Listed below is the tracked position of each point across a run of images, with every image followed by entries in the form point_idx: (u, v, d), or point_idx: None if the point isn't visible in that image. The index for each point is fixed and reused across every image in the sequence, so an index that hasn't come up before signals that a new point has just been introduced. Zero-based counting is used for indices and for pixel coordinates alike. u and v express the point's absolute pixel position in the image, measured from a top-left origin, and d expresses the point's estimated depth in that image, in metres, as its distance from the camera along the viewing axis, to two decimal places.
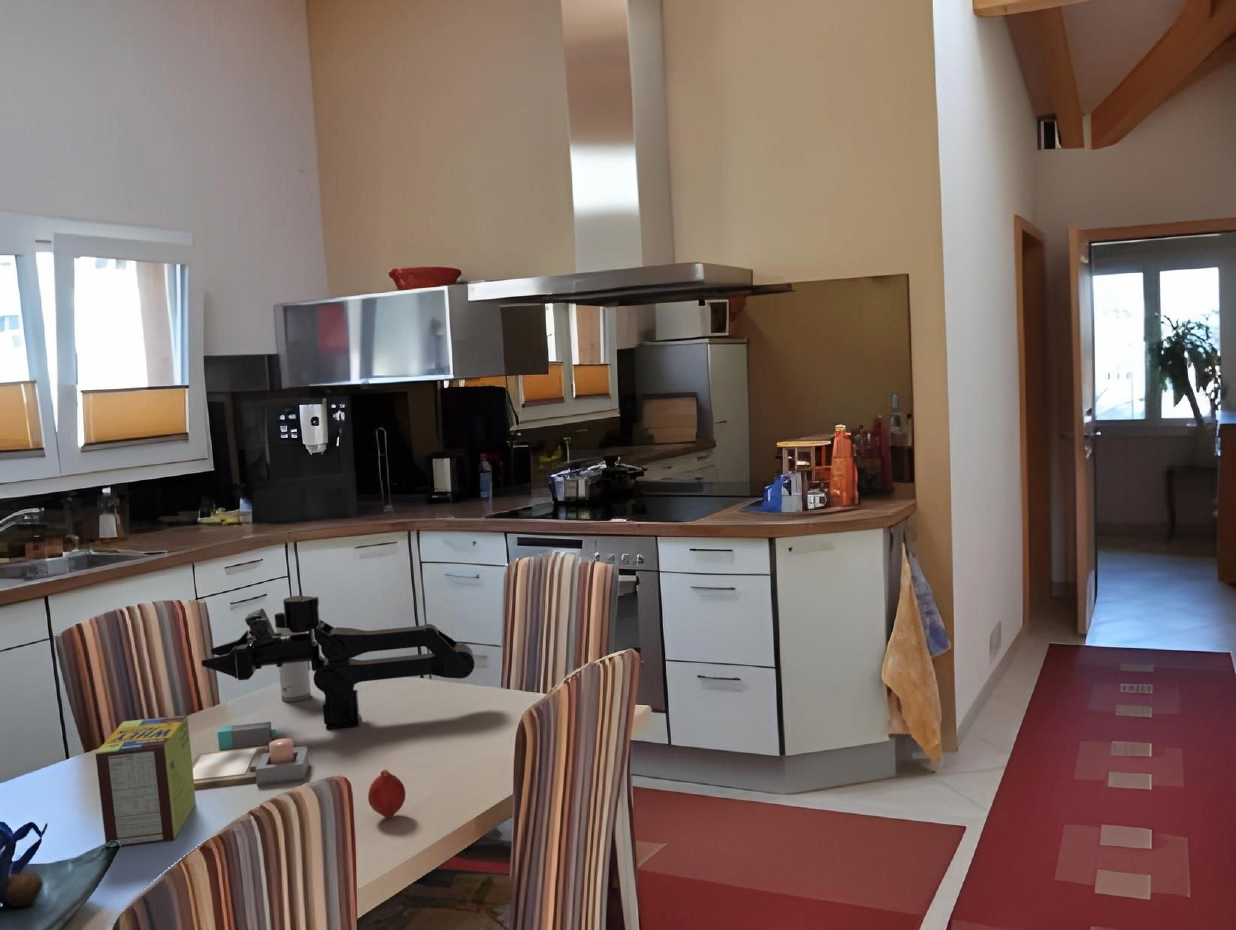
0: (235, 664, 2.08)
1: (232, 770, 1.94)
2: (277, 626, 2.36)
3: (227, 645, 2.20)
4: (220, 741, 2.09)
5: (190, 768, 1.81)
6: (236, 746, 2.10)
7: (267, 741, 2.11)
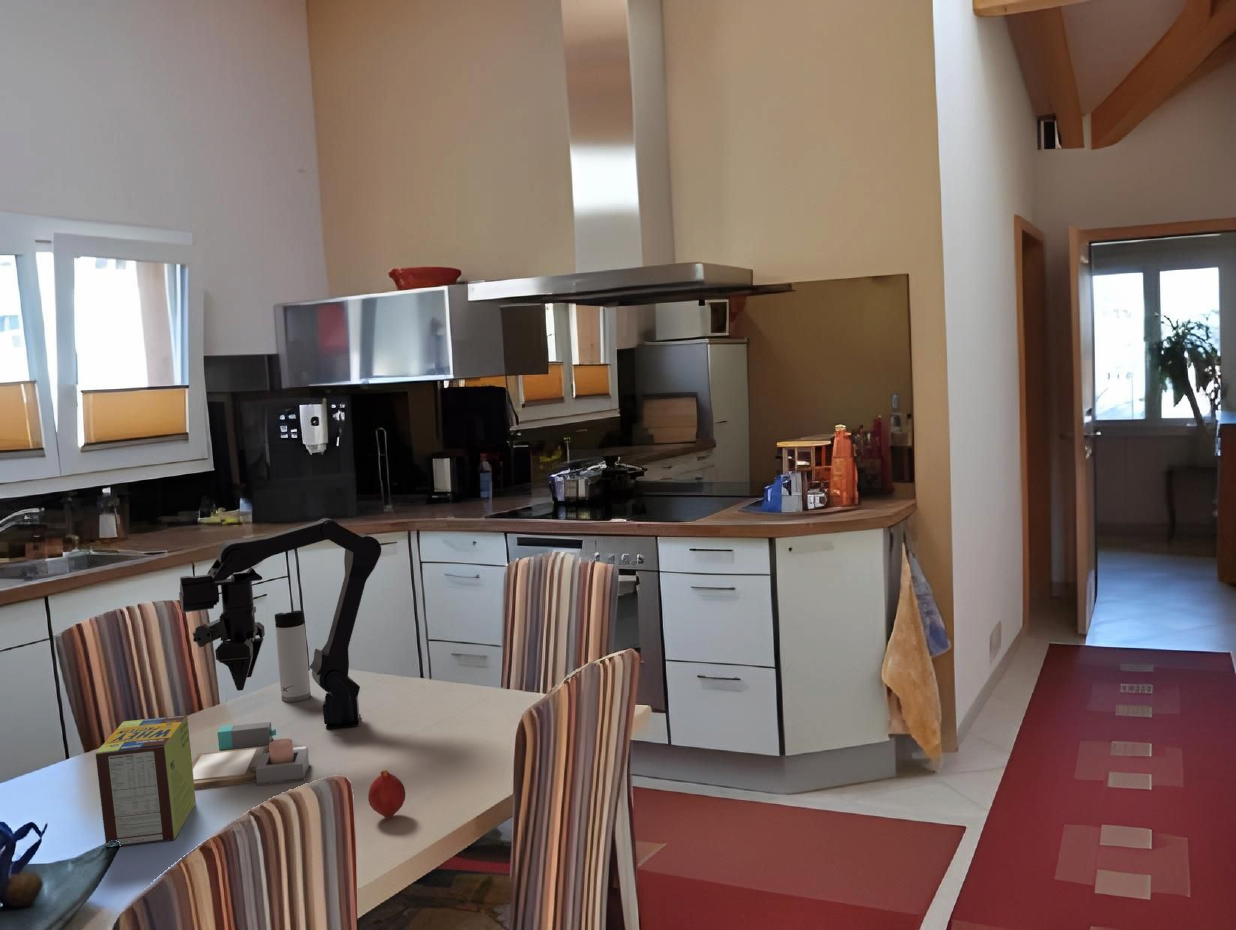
0: (234, 659, 2.02)
1: (232, 770, 1.94)
2: (277, 626, 2.36)
3: None
4: (220, 741, 2.09)
5: (190, 768, 1.81)
6: (236, 746, 2.10)
7: (267, 741, 2.11)
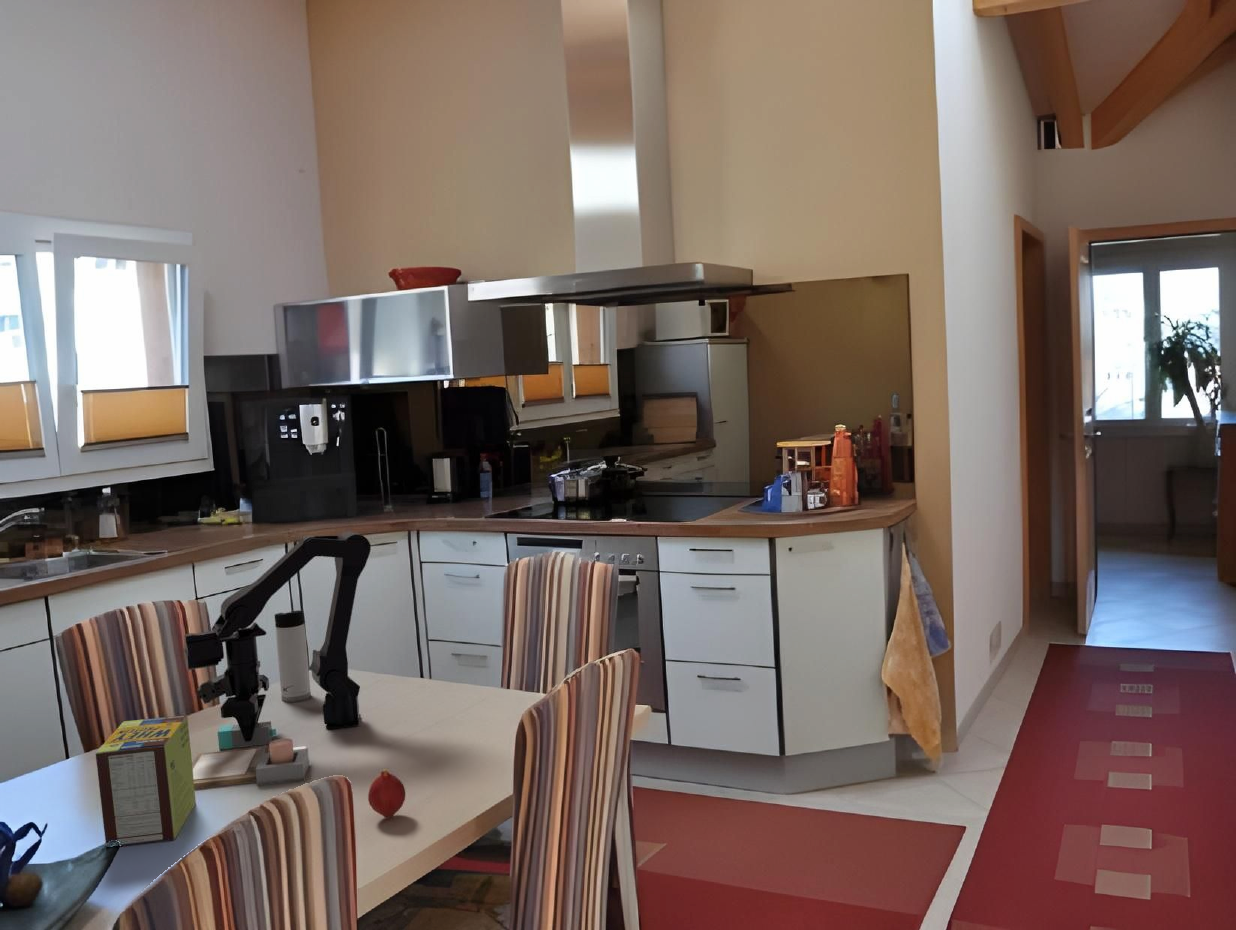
0: None
1: (232, 770, 1.94)
2: (277, 626, 2.36)
3: None
4: (220, 741, 2.09)
5: (190, 768, 1.81)
6: (236, 746, 2.10)
7: (268, 741, 2.11)
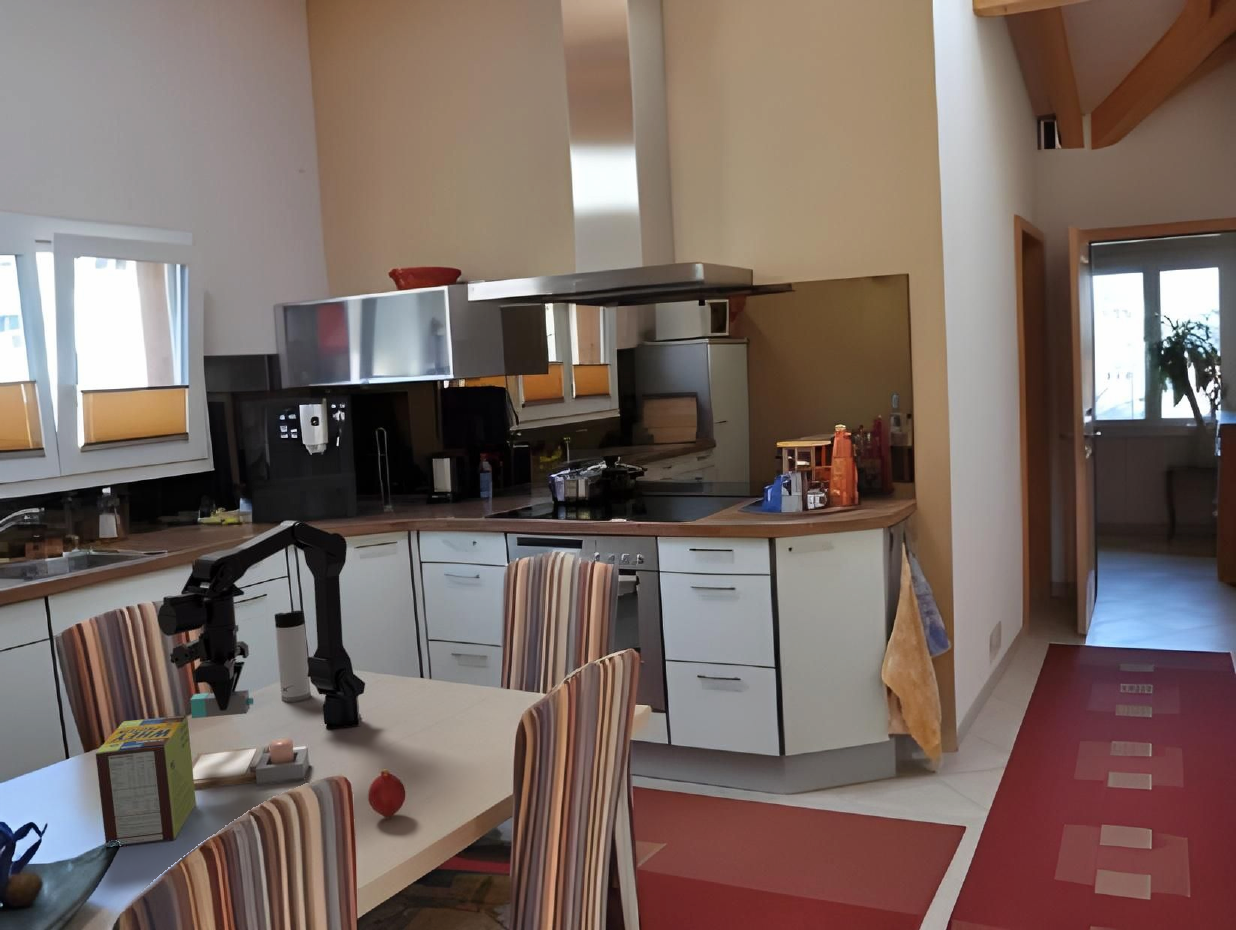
0: None
1: (232, 770, 1.94)
2: (277, 626, 2.36)
3: None
4: (193, 709, 1.95)
5: (190, 768, 1.81)
6: (210, 715, 1.96)
7: (244, 711, 1.97)
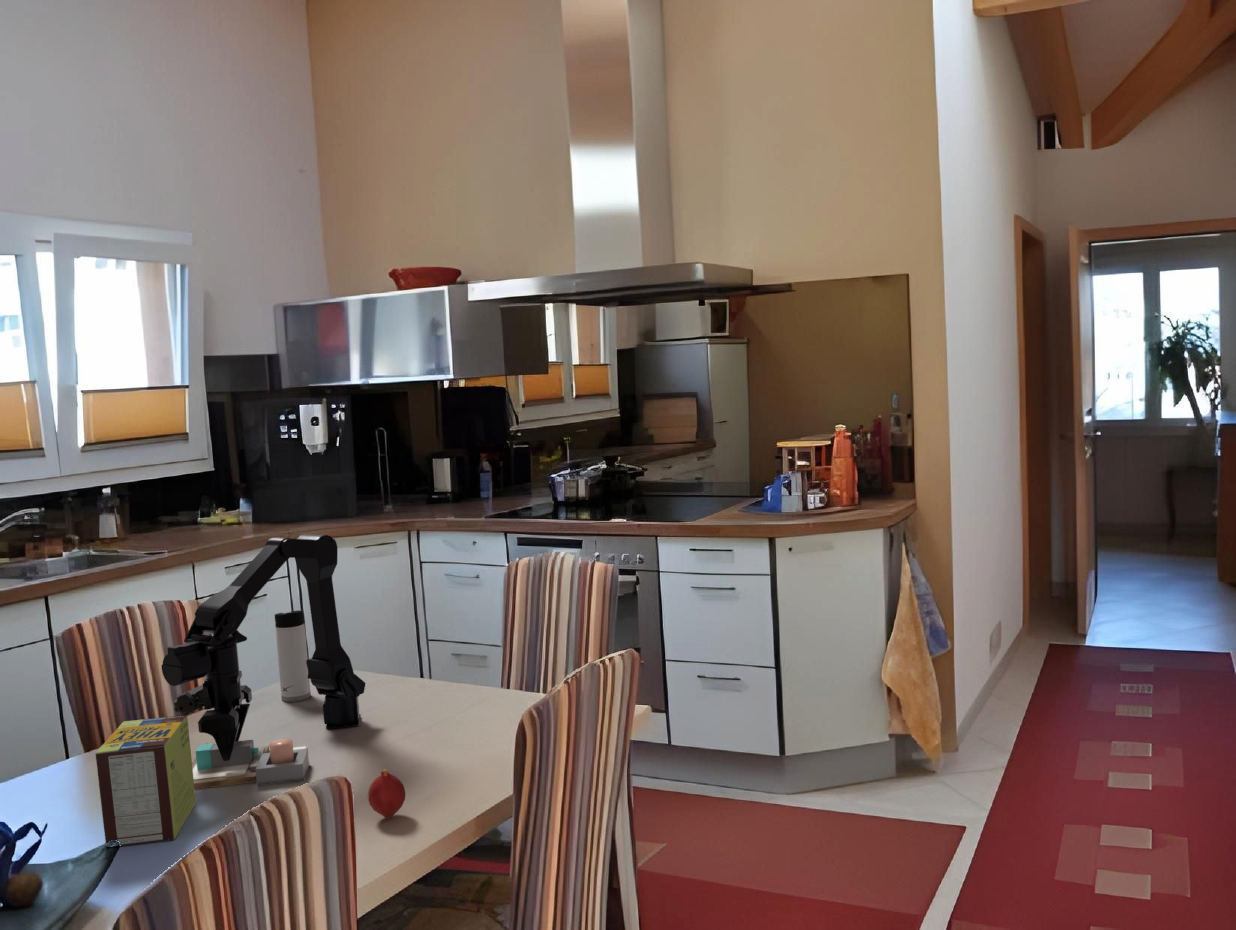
0: None
1: (232, 770, 1.94)
2: (277, 626, 2.36)
3: None
4: (198, 761, 1.95)
5: (190, 768, 1.81)
6: (216, 766, 1.96)
7: (249, 761, 1.97)
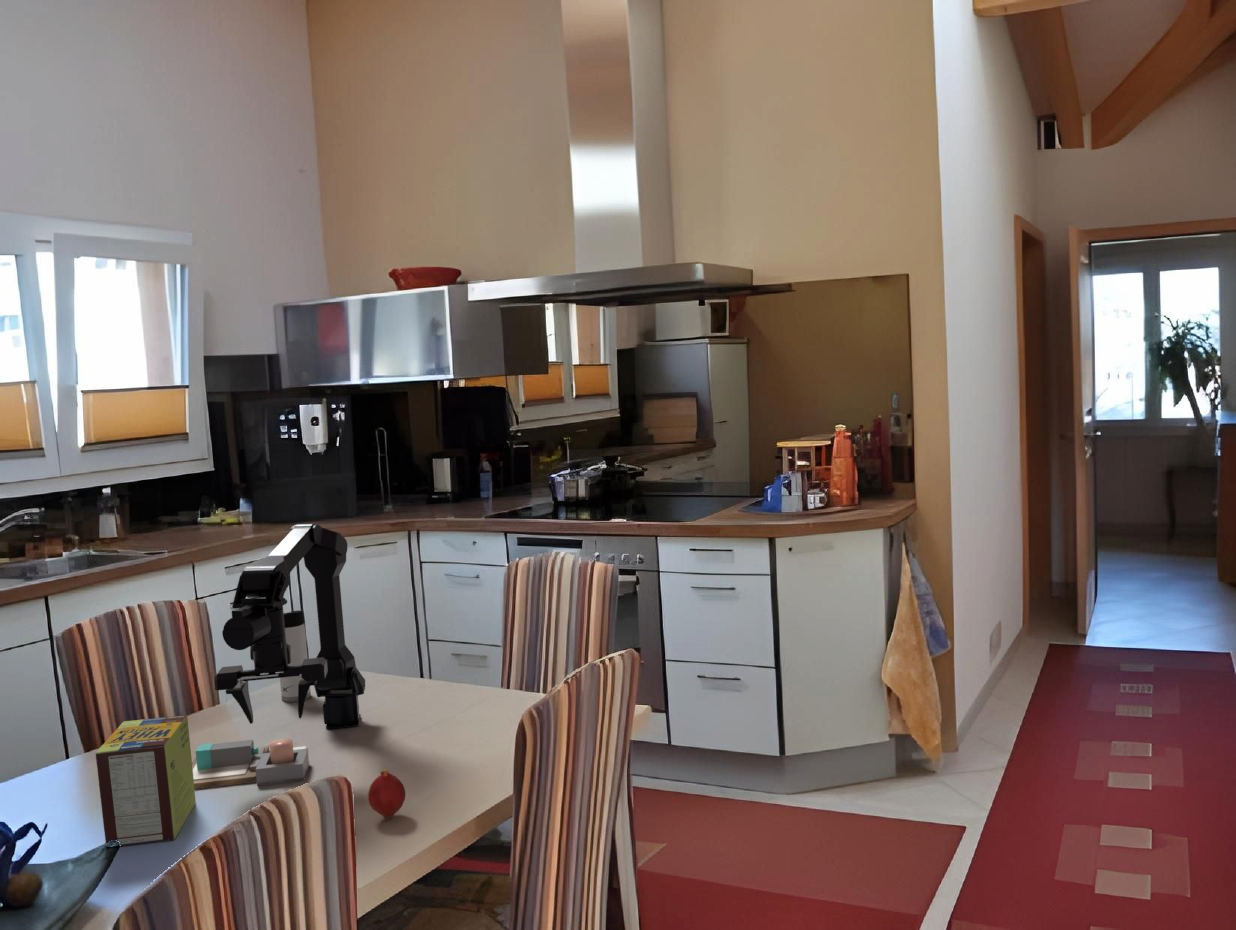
0: None
1: (232, 770, 1.94)
2: None
3: None
4: (198, 761, 1.95)
5: (190, 768, 1.81)
6: (216, 766, 1.96)
7: (249, 761, 1.97)
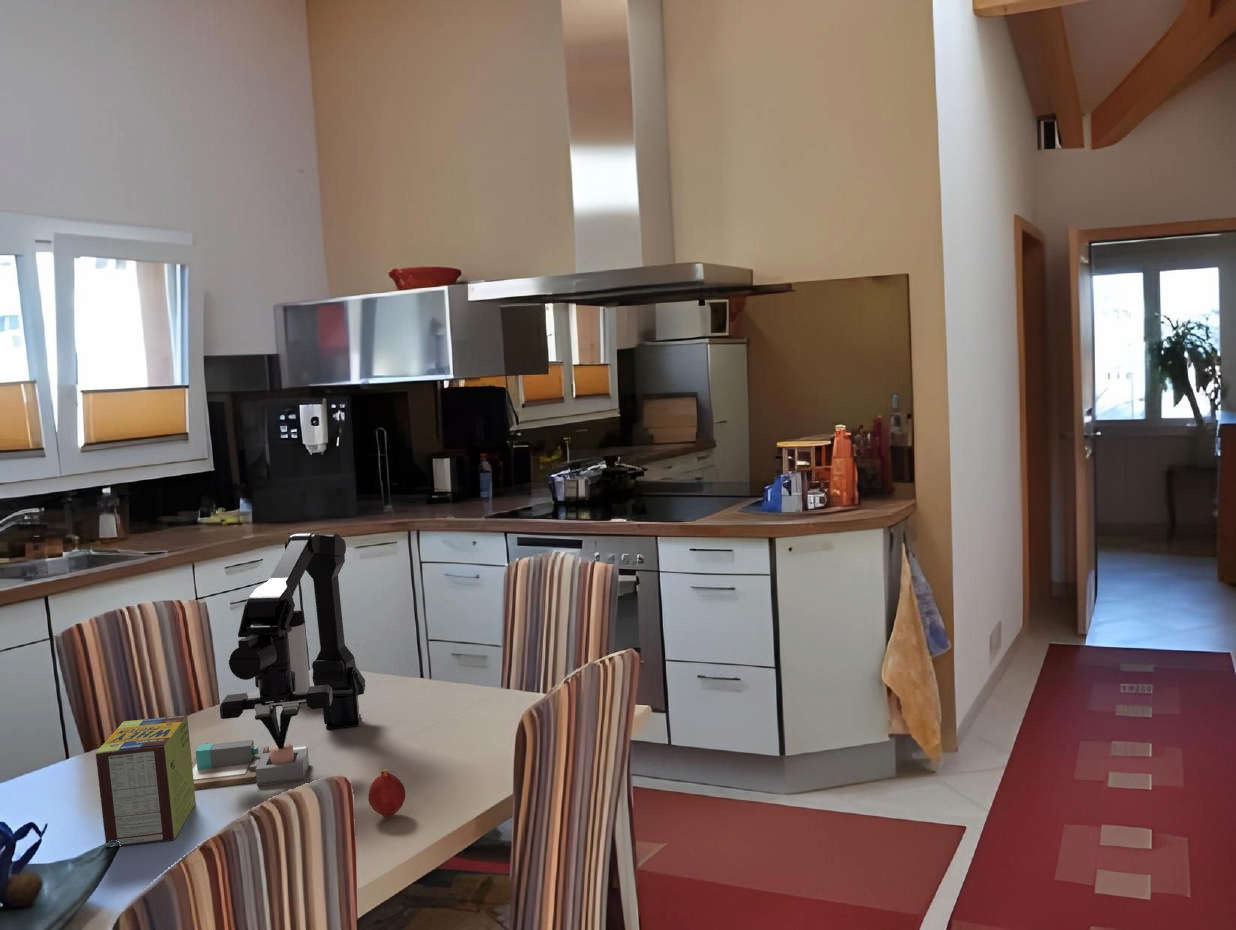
0: None
1: (232, 770, 1.94)
2: None
3: None
4: (198, 761, 1.95)
5: (190, 768, 1.81)
6: (216, 766, 1.96)
7: (249, 761, 1.97)
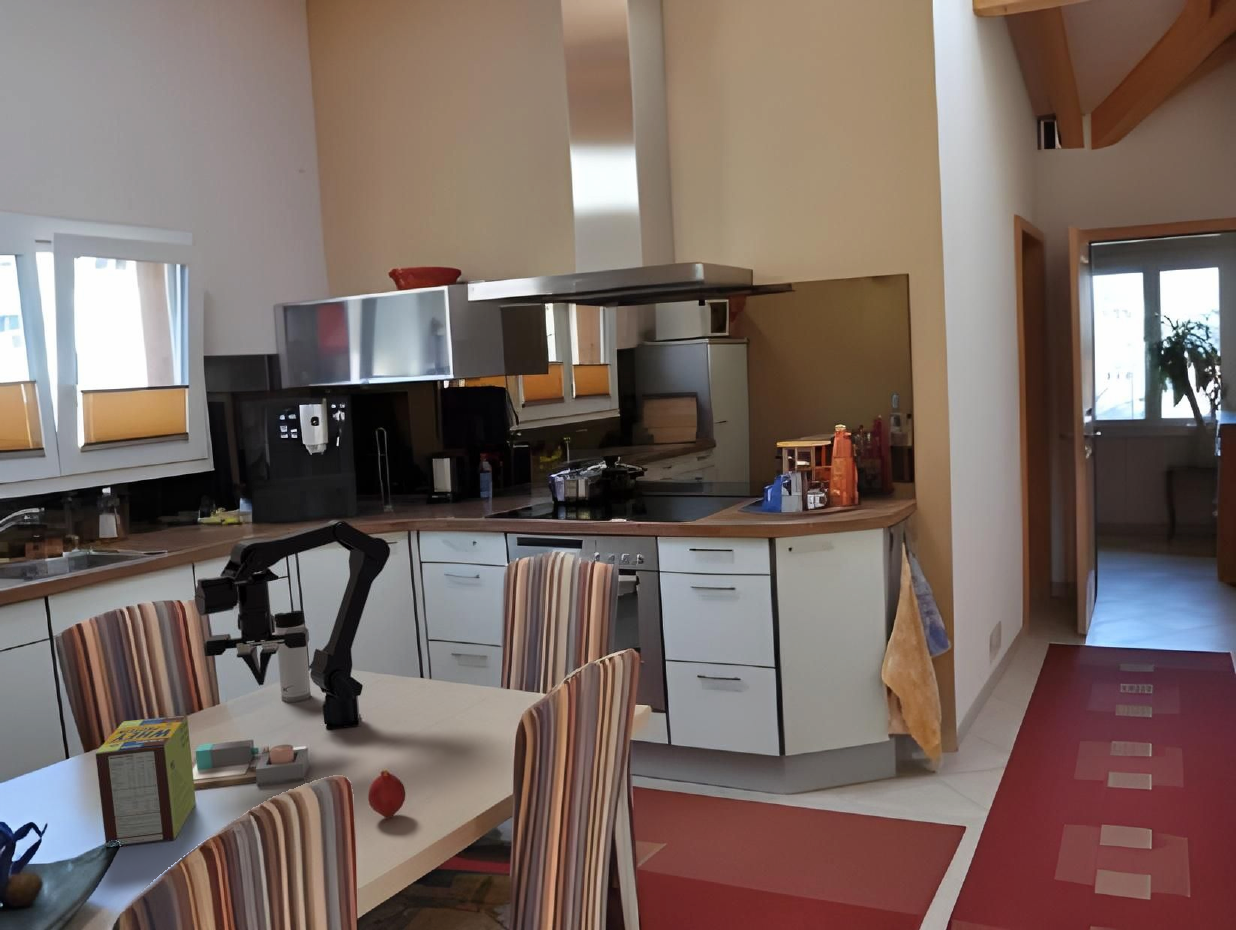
0: None
1: (232, 770, 1.94)
2: (277, 626, 2.36)
3: None
4: (198, 761, 1.95)
5: (190, 768, 1.81)
6: (216, 766, 1.96)
7: (249, 761, 1.97)
